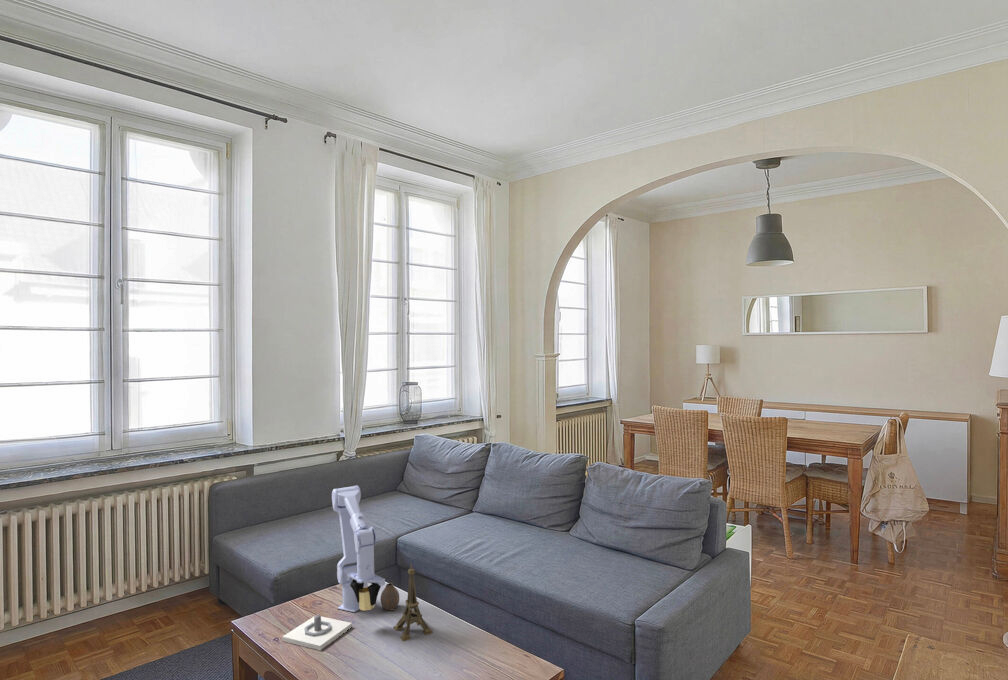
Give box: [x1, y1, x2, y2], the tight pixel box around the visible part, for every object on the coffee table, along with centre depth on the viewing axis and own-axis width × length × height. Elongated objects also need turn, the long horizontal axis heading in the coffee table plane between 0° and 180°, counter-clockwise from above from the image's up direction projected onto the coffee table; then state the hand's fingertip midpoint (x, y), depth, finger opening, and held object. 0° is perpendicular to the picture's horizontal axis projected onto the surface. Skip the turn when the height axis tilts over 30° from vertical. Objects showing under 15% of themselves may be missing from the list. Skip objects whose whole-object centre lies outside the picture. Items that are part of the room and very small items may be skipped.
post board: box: [281, 614, 353, 651], centre depth 201 cm, size 16×16×6 cm
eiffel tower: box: [393, 564, 434, 642], centre depth 202 cm, size 11×11×25 cm
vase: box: [380, 582, 400, 611], centre depth 219 cm, size 7×7×9 cm
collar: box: [359, 587, 376, 612], centre depth 205 cm, size 5×5×6 cm
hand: (366, 602), depth 205 cm, fingers closed on collar, 5 cm apart
